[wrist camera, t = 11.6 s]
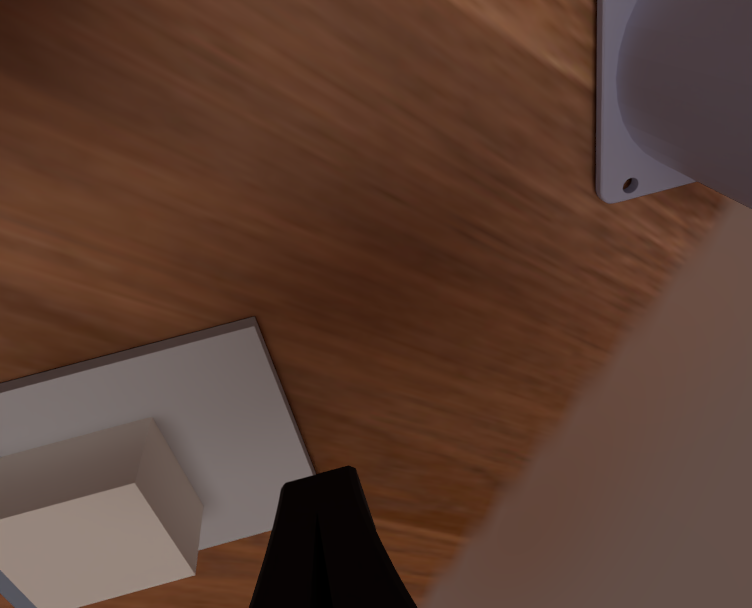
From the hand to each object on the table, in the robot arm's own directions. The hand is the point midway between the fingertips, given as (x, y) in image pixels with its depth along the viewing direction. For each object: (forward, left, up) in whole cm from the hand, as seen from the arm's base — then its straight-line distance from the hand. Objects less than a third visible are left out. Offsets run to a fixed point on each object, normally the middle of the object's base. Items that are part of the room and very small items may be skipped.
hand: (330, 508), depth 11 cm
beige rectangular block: (+7, +6, -7) cm, 12 cm away
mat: (+8, +6, -9) cm, 14 cm away
